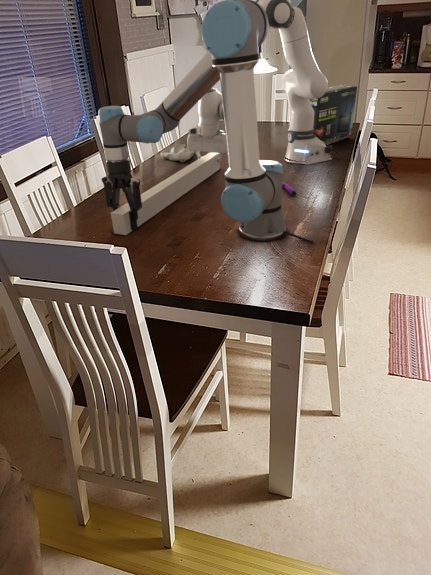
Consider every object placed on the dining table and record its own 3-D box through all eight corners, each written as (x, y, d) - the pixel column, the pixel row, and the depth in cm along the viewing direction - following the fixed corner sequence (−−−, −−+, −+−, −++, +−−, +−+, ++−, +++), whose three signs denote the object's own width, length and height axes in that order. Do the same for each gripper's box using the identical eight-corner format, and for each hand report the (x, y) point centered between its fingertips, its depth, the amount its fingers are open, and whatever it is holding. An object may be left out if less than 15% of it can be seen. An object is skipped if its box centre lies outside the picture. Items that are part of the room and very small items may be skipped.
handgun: (263, 182, 193) (263, 177, 192) (280, 180, 194) (280, 175, 193) (277, 198, 176) (277, 193, 175) (297, 195, 177) (297, 191, 176)
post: (126, 235, 151) (122, 214, 148) (113, 233, 153) (110, 212, 149) (220, 168, 212) (219, 152, 208) (210, 167, 213) (209, 152, 210)
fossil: (184, 156, 217) (163, 136, 220) (174, 174, 223) (154, 154, 227) (205, 153, 231) (186, 134, 234) (195, 171, 237) (176, 152, 240)
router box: (314, 151, 231) (318, 94, 217) (296, 148, 237) (299, 92, 224) (352, 138, 251) (358, 85, 238) (335, 135, 258) (340, 83, 245)
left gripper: (148, 158, 143) (155, 227, 155) (101, 153, 150) (112, 220, 162) (135, 164, 137) (144, 235, 149) (87, 160, 144) (99, 228, 156)
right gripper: (233, 129, 198) (233, 161, 205) (191, 126, 205) (192, 157, 212) (228, 132, 193) (228, 165, 200) (184, 129, 200) (186, 161, 207)
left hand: (127, 227), depth 156 cm, fingers closed on post, 5 cm apart
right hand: (209, 161), depth 206 cm, fingers open, 8 cm apart
